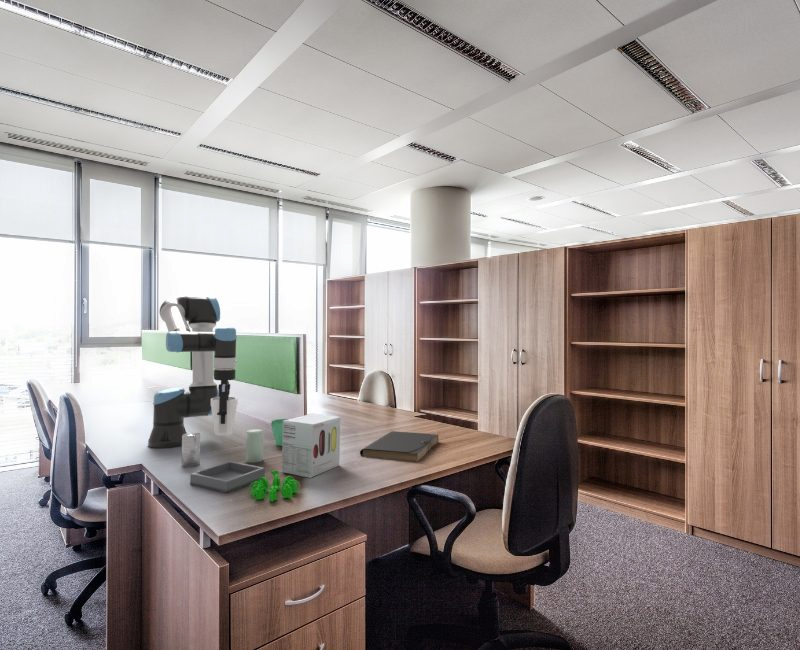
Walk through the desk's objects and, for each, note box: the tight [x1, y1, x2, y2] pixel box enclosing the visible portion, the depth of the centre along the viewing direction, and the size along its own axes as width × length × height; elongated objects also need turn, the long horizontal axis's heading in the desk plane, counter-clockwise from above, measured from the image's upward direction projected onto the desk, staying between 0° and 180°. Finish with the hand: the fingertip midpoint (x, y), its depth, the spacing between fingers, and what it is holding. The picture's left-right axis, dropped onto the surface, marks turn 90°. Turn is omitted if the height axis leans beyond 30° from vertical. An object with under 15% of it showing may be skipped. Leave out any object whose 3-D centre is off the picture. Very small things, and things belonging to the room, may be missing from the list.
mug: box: [270, 418, 289, 447], centre depth 197 cm, size 15×10×10 cm
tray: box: [189, 460, 266, 494], centre depth 149 cm, size 16×16×4 cm
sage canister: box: [245, 429, 264, 464], centre depth 173 cm, size 6×6×11 cm
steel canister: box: [181, 432, 201, 468], centre depth 166 cm, size 6×6×11 cm
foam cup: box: [211, 396, 239, 437], centre depth 170 cm, size 10×9×13 cm
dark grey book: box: [359, 430, 439, 463], centre depth 193 cm, size 33×4×24 cm
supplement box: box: [281, 413, 341, 479], centre depth 163 cm, size 17×13×18 cm
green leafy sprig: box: [248, 470, 301, 503], centre depth 138 cm, size 15×15×7 cm
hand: (223, 429), depth 170 cm, fingers closed on foam cup, 9 cm apart
